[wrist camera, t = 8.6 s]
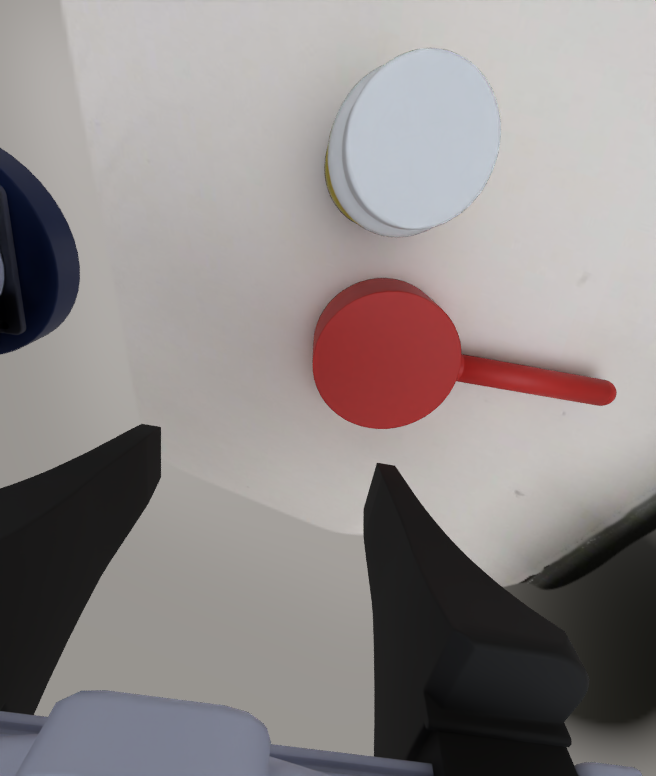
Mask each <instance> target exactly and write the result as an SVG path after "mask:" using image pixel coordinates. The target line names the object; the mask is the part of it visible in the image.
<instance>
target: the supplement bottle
mask: <svg viewBox="0 0 656 776" xmlns="http://www.w3.org/2000/svg"><path fill="white" fill-rule="evenodd" d="M500 137H501V121H500V114H499V108H498V105H497V101H496V98H495V95H494V92H493V90H492V88H491V86H490V84H489V82H488V81H487V79H486V78H485V76H484V75H483V74H482V73H481V71H480V70H479V69H478V68H477V67H476V66H475V65H474V64H473V63H471V62H470V61H469V60H467V59H466V58H464V57H462V56H460V55H459V54H457V53H454V52H452V51H448V50H445V49H438V48H424V49H416V50H412V51H409V52H407V53H404V54H402V55H399V56H397V57H395V58H394V59H392V60H390V61H389V62H388V63H386V64H385V65H383V66H380V67H378V68H377V69H375V70H373V71H372V72H370V73H369V74H367V75H366V76H365V77H364V78H362V79H361V80H360V81H359V82H358V83H357V84H356V85H355V86H354V88H353V89H352V90H351V91H350V93H349V94H348V95H347V97H346V99H345V100H344V102H343V103H342V105H341V107H340V109H339V111H338V114H337V116H336V118H335V121H334V123H333V126H332V129H331V132H330V137H329V143H328V147H327V151H326V156H325V180H326V185H327V188H328V191H329V194H330V196H331V198H332V200H333V202H334V203H335V205H336V206H337V208H338V209H339V210H340V211H341V212H342V213H343V214H344V215H345V216H346V217H347V218H348V219H350V220H351V221H353V222H355V223H356V224H358V225H360V226H361V227H363V228H365V229H367V230H369V231H371V232H373V233H375V234H379V235H382V236H387V237H407V236H412V235H416V234H419V233H422V232H425V231H427V230H429V229H431V228H433V227H436V226H439V225H441V224H444V223H446V222H448V221H450V220H451V219H453V218H455V217H456V216H458V215H459V214H460V213H462V212H463V211H464V210H465V209H466V208H467V207H468V206H470V205H471V204H472V202H473V201H474V200H475V199H476V198H477V197H478V195H479V194H480V193H481V191H482V190H483V188H484V187H485V185H486V183H487V181H488V179H489V177H490V175H491V173H492V171H493V168H494V166H495V163H496V159H497V156H498V151H499V145H500Z"/></svg>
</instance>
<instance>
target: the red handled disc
mask: <svg viewBox="0 0 656 776" xmlns="http://www.w3.org/2000/svg"><path fill="white" fill-rule="evenodd" d="M313 375H314V380H315V383H316V386H317V389H318V391H319V393H320V395H321V397H322V398H323V400H324V401H325V403H326V404H327V405H328V406H329V407H330V408H331V409H332V410H333V411H334V412H335V413H336V414H338V415H339V416H341V417H342V418H344V419H345V420H347V421H349V422H351V423H354V424H357V425H359V426H363V427H368V428H375V429H389V428H396V427H401V426H405V425H408V424H410V423H413V422H415V421H417V420H420V419H422V418H423V417H425V416H426V415H428V414H430V413H431V412H432V411H433V410H435V409H436V408H437V407H438V406H439V405H440V404H441V403H442V402H443V401H444V400H445V398H446V397H447V396H448V394H449V393H450V391H451V390H452V388H453V386H454V384H455V382H456V381H458V382H464V383H470V384H476V385H482V386H487V387H493V388H499V389H505V390H511V391H516V392H522V393H528V394H534V395H540V396H546V397H551V398H557V399H563V400H569V401H575V402H581V403H586V404H592V405H599V406H603V405H607V404H609V403H611V402H612V401H613V400H614V399H615V397H616V388H615V386H614V385H613V384H612V383H611V382H609V381H607V380H602V379H597V378H591V377H586V376H580V375H575V374H569V373H563V372H558V371H552V370H547V369H541V368H535V367H530V366H524V365H519V364H513V363H508V362H502V361H496V360H491V359H485V358H480V357H474V356H468V355H463V354H461V344H460V339H459V336H458V333H457V330H456V328H455V326H454V324H453V323H452V321H451V319H450V318H449V317H448V315H447V314H446V313H445V312H444V311H443V310H442V309H441V308H440V307H439V306H438V305H437V304H436V303H435V302H434V301H432V300H431V299H430V298H429V297H428V296H427V295H426V294H425V293H423V292H422V291H421V290H420V289H418V288H416V287H415V286H413V285H411V284H409V283H406V282H404V281H400V280H396V279H389V278H376V279H369V280H365V281H362V282H359V283H356V284H354V285H352V286H350V287H348V288H346V289H345V290H343V291H342V292H340V293H339V294H338V295H337V296H335V297H334V298H333V299H332V300H331V302H330V303H329V304H328V305H327V306H326V308H325V309H324V311H323V312H322V314H321V316H320V318H319V320H318V323H317V325H316V329H315V333H314V342H313Z"/></svg>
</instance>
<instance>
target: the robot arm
mask: <svg viewBox="0 0 656 776" xmlns="http://www.w3.org/2000/svg"><path fill="white" fill-rule="evenodd" d="M4 321H5V322H6V323H7V324H8V326H9V327H7V326H5V324H4ZM25 330H26V322H25V315H24V308H23V302H22V295H21V288H20V281H19V275H18V268H17V261H16V255H15V248H14V241H13V234H12V228H11V221H10V214H9V207H8V201H7V195H6V192H5V190H4V189H3V187H2V186H0V332H1V333H7V334H13V335H19V334H21V333H23V332H25ZM160 478H161V427H157V426H151V425H145V424H141V425H139V426H137V427H135V428H133V429H131V430H129V431H127V432H125V433H123V434H121V435H119V436H117V437H116V438H114V439H112V440H110V441H108V442H106V443H104V444H102V445H100V446H99V447H97V448H95V449H93V450H91V451H89V452H87V453H85V454H83V455H81V456H79V457H77V458H74V459H72V460H70V461H68V462H66V463H64V464H62V465H59V466H57V467H55V468H53V469H51V470H48V471H46V472H44V473H41V474H39V475H36V476H34V477H31V478H28V479H26V480H23V481H21V482H18V483H15V484H13V485H10V486H7V487H3V488H1V489H0V776H642V774H641V772H640V771H639V770H638V769H636V768H634V767H627V766H620V765H612V764H604V763H596V762H584V763H580V764H577V765H575V766H574V765H573V762H572V760H571V758H570V755H569V752H568V750H567V748H566V747H569V746H570V745H571V737H570V735H569V733H568V731H567V728H566V726H565V724H564V721H565V720H566V719H567V718H568V716H569V715H570V714H571V713H572V712H573V710H574V709H575V708H576V707H577V706H578V704H579V703H580V702H581V701H582V699H583V697H584V696H585V694H586V692H587V690H588V685H589V677H588V675H587V673H586V670H585V668H584V666H583V664H582V662H581V660H580V659H579V657H578V655H577V653H576V651H575V649H574V647H573V645H572V644H571V642H570V640H569V638H568V636H567V635H566V633H565V631H563V630H562V629H560V628H559V627H557V626H556V625H554V624H553V623H551V622H550V621H548V620H547V619H545V618H544V617H542V616H541V615H539V614H538V613H536V612H535V611H534V610H532V609H531V608H529V607H528V606H526V605H525V604H524V603H522V602H521V601H520V600H518V599H517V598H516V597H514V596H513V595H512V594H510V593H509V592H508V591H506V590H505V589H504V588H503V587H501V586H500V585H499V584H498V583H497V582H495V581H494V580H493V579H492V578H491V577H489V576H488V575H487V574H486V573H485V572H484V571H483V570H481V569H480V568H479V567H478V566H477V565H476V564H475V563H474V562H473V561H472V560H470V559H469V558H468V557H467V556H466V555H465V554H464V553H463V552H462V551H461V550H460V549H459V548H458V547H457V546H456V545H455V543H454V542H453V541H452V540H451V539H450V538H449V537H448V536H447V535H446V534H445V533H444V532H443V530H442V529H441V528H440V527H439V526H438V524H437V523H436V522H435V521H434V520H433V518H432V517H431V516H430V515H429V513H428V512H427V511H426V510H425V508H424V507H423V506H422V504H421V503H420V501H419V500H418V499H417V497H416V496H415V495H414V493H413V492H412V490H411V489H410V487H409V486H408V484H407V483H406V481H405V480H404V478H403V477H402V476H401V474H400V473H399V471H398V470H397V468H396V467H395V466H393V465H387V464H381V463H377V465H376V468H375V472H374V475H373V479H372V482H371V486H370V489H369V493H368V496H367V499H366V503H365V506H364V544H365V552H366V561H367V568H368V576H369V584H370V591H371V599H372V610H373V632H374V680H375V728H374V757H373V756H364V755H356V754H347V753H340V752H331V751H323V750H315V749H307V748H298V747H290V746H282V745H273V744H271V741H270V737H269V734H268V731H267V728H266V726H265V725H264V724H263V723H262V722H261V721H260V720H258V719H257V718H256V717H254V716H253V715H251V714H250V713H249V712H246V711H243V710H239V709H236V708H232V707H229V706H225V705H217V704H210V703H202V702H194V701H186V700H178V699H170V698H163V697H155V696H147V695H139V694H130V693H123V692H115V691H107V690H102V691H101V690H96V691H80V692H78V693H75V694H73V695H71V696H69V697H67V698H65V699H62V700H60V701H58V702H56V704H55V706H54V707H53V709H52V711H51V713H50V715H49V716H48V717H44V716H36V715H34V713H35V710H36V708H37V706H38V704H39V702H40V699H41V697H42V695H43V693H44V690H45V688H46V686H47V683H48V681H49V679H50V677H51V675H52V673H53V671H54V669H55V667H56V665H57V662H58V660H59V658H60V656H61V654H62V652H63V650H64V648H65V646H66V643H67V641H68V639H69V637H70V635H71V633H72V631H73V629H74V627H75V625H76V623H77V621H78V619H79V617H80V615H81V613H82V611H83V609H84V608H85V606H86V604H87V602H88V600H89V598H90V596H91V594H92V592H93V590H94V589H95V587H96V585H97V583H98V581H99V579H100V577H101V576H102V574H103V572H104V571H105V569H106V567H107V566H108V564H109V562H110V561H111V559H112V558H113V556H114V555H115V553H116V552H117V550H118V549H119V547H120V546H121V544H122V543H123V541H124V539H125V538H126V537H127V535H128V534H129V532H130V531H131V529H132V528H133V526H134V525H135V523H136V521H137V520H138V519H139V517H140V516H141V514H142V512H143V511H144V509H145V508H146V506H147V505H148V503H149V501H150V499H151V497H152V495H153V493H154V491H155V489H156V486H157V484H158V482H159V480H160Z"/></svg>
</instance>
